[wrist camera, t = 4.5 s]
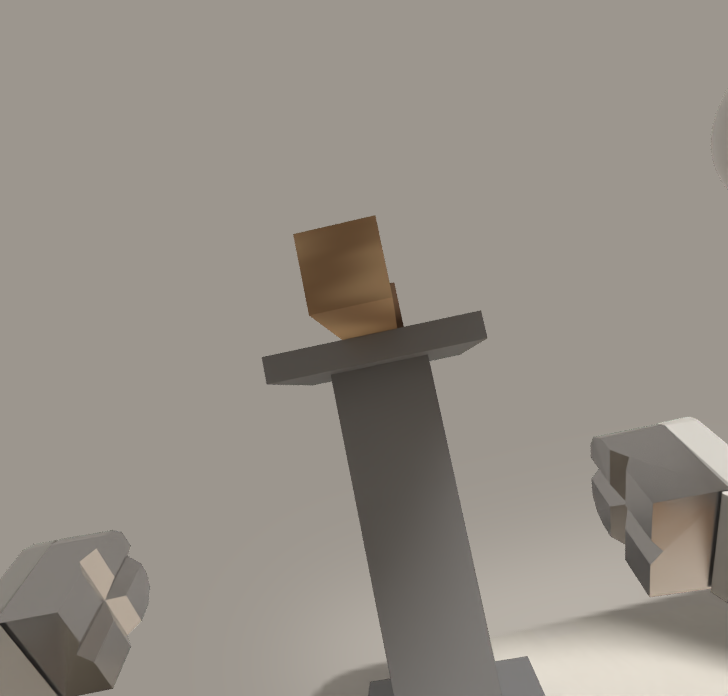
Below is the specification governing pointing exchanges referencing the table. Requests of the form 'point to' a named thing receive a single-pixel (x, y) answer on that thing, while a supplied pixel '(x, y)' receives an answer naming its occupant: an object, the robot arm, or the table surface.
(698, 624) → the table surface
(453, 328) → the charcoal stand
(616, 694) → the table surface
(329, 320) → the oak shaft
